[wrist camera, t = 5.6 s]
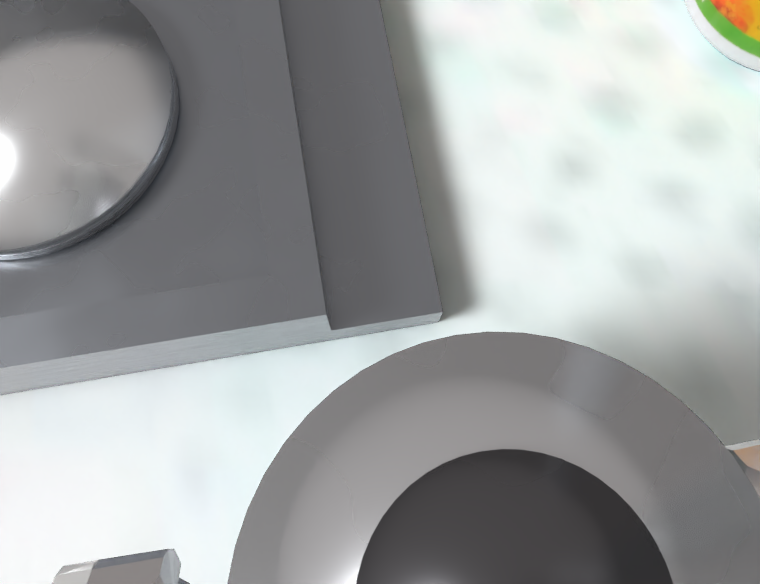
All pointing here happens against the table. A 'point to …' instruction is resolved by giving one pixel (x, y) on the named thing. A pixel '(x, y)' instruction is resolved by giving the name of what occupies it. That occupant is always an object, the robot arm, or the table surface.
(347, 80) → the shaft seat
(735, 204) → the table surface
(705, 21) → the supplement bottle
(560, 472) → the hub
